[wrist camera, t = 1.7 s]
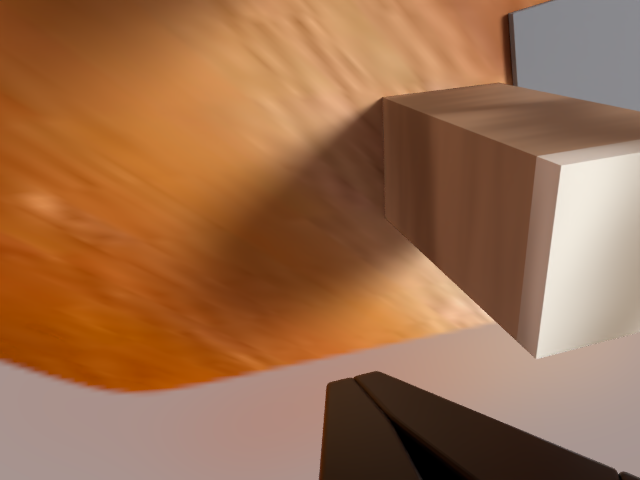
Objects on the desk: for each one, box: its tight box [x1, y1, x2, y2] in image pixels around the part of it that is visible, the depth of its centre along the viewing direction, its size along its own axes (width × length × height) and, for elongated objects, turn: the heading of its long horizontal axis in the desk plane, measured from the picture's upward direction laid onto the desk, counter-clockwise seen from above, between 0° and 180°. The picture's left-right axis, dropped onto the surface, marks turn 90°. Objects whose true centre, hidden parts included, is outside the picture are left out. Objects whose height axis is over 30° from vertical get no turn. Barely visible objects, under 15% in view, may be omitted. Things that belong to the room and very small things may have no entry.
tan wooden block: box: [383, 83, 640, 359], centre depth 17 cm, size 5×5×10 cm
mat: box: [508, 0, 640, 111], centre depth 22 cm, size 9×10×1 cm
